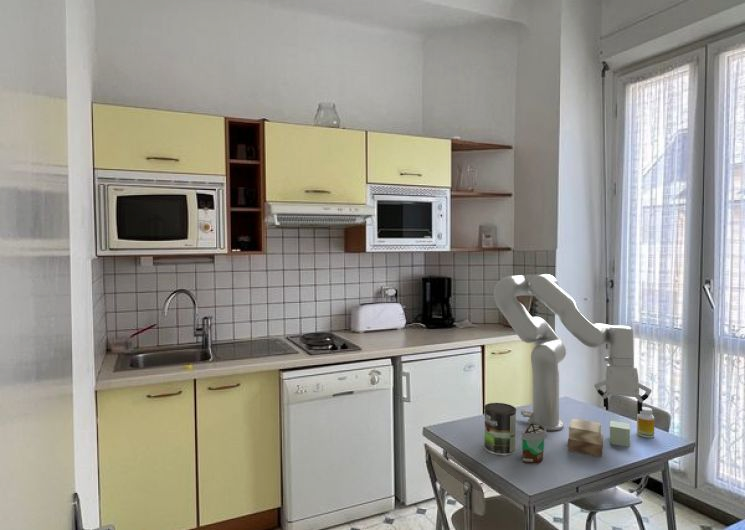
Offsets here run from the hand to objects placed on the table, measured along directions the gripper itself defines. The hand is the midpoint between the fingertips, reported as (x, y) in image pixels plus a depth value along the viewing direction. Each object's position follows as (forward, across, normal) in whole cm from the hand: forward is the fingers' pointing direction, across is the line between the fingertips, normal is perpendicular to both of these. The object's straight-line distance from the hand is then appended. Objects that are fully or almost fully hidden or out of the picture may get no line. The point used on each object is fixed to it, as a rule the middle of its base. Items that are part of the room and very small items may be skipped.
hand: (622, 411), depth 158 cm
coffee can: (+10, -36, -26) cm, 46 cm away
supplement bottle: (+11, +7, +11) cm, 17 cm away
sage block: (+11, -1, 0) cm, 11 cm away
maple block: (+7, -11, -11) cm, 17 cm away
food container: (+11, -24, -28) cm, 38 cm away
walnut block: (+11, -11, -11) cm, 19 cm away
